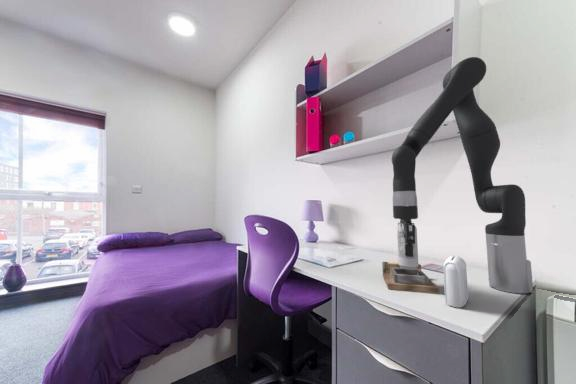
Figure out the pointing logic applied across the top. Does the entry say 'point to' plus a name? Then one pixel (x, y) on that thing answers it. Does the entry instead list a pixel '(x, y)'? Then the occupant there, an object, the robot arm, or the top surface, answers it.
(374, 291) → the top surface
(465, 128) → the robot arm
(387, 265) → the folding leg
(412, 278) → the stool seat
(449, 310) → the top surface
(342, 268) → the top surface
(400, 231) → the energy drink can
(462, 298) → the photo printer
